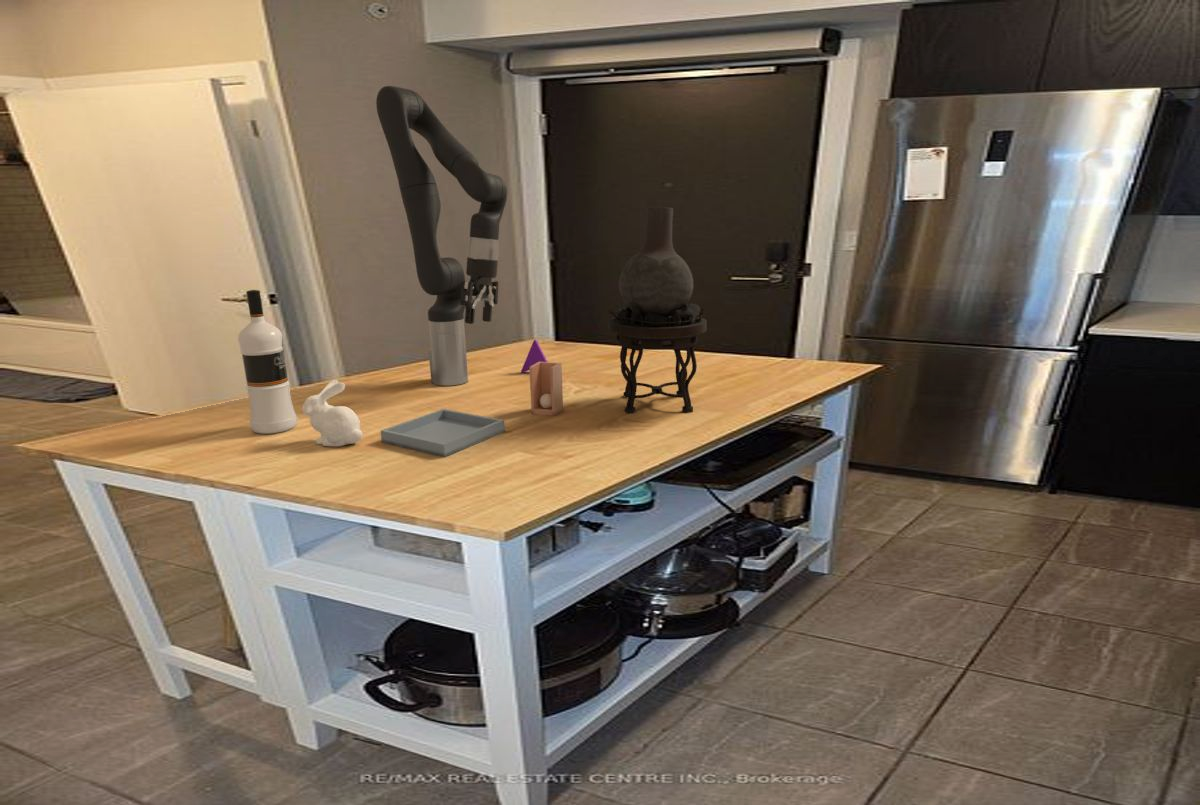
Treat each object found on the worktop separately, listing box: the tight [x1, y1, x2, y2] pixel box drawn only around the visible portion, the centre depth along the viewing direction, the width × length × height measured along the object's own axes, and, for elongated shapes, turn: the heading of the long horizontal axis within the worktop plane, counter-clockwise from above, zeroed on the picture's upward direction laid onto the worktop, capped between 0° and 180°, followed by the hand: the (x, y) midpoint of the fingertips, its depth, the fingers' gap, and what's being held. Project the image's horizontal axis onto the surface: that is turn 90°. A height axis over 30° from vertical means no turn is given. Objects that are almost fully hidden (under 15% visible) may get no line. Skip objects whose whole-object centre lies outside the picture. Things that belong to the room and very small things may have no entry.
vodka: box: [237, 289, 298, 435], centre depth 143 cm, size 9×9×30 cm
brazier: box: [607, 206, 708, 414], centre depth 154 cm, size 22×22×45 cm
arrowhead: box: [520, 339, 548, 374], centre depth 192 cm, size 10×2×10 cm
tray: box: [380, 408, 506, 458], centre depth 139 cm, size 18×18×2 cm
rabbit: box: [302, 379, 364, 447], centre depth 136 cm, size 12×9×12 cm
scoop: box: [528, 361, 564, 417], centre depth 154 cm, size 6×6×11 cm
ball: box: [540, 394, 552, 408], centre depth 155 cm, size 3×3×3 cm
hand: (478, 322), depth 170 cm, fingers open, 8 cm apart
